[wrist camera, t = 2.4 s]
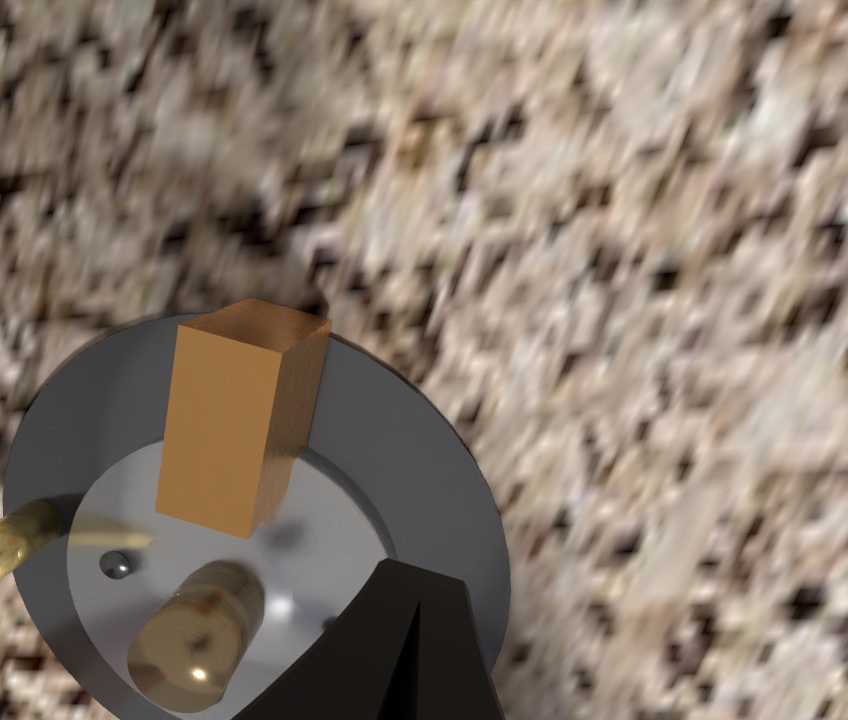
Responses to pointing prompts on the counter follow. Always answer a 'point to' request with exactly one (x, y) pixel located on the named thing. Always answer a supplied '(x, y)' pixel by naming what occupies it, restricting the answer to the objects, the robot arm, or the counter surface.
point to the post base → (337, 432)
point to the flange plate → (229, 500)
